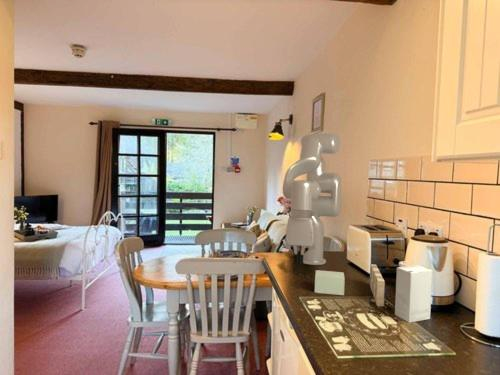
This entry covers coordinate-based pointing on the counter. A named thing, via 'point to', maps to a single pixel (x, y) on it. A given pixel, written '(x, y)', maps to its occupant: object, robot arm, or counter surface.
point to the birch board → (377, 285)
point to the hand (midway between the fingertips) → (298, 264)
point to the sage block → (329, 282)
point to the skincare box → (413, 293)
